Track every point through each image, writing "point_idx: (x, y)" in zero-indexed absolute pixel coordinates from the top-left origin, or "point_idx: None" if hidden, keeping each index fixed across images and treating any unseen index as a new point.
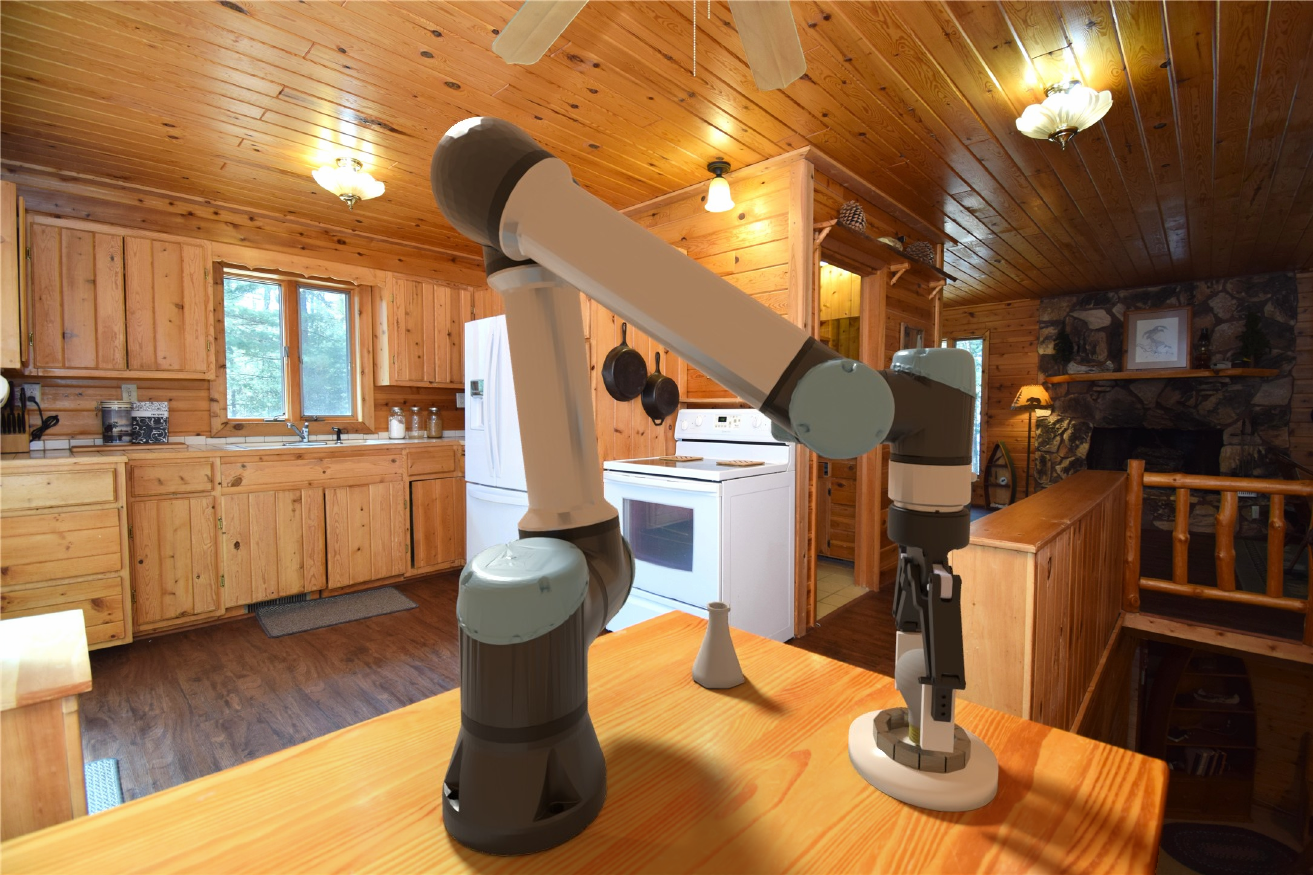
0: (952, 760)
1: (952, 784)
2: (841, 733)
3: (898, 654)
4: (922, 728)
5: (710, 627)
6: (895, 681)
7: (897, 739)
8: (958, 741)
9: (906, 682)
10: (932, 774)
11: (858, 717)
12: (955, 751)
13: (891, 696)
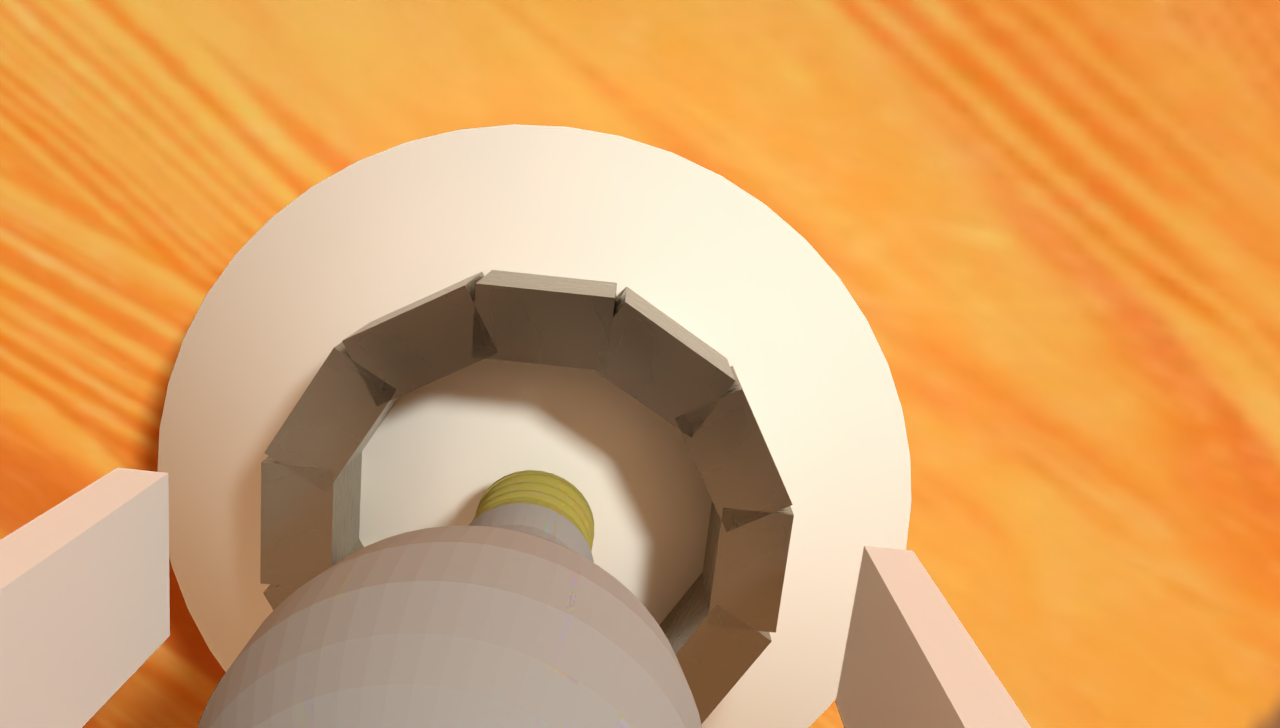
0: None
1: (212, 548)
2: (799, 140)
3: (953, 718)
4: (34, 520)
5: None
6: (914, 571)
7: (405, 383)
8: None
9: (293, 601)
10: None
11: (804, 245)
12: None
13: (1201, 542)
